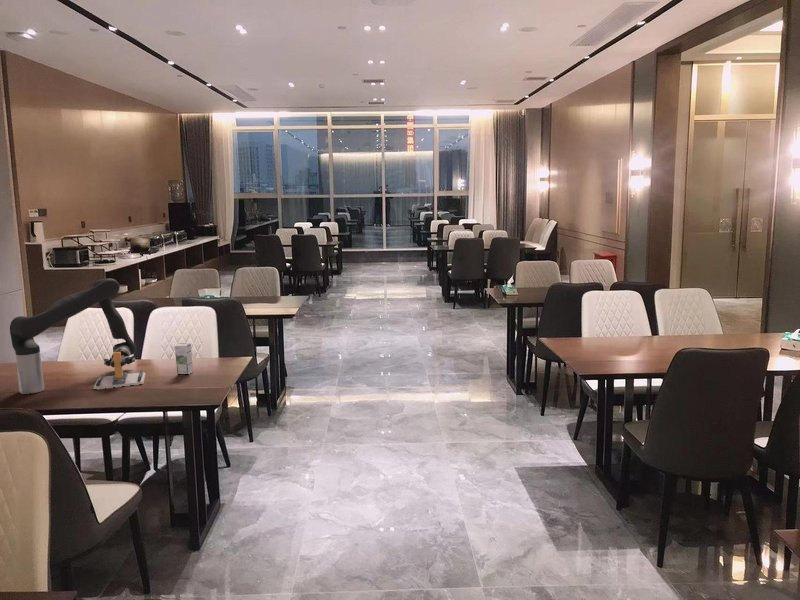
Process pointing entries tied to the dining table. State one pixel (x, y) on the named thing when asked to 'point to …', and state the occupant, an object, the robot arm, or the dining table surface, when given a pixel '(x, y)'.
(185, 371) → the syrup box
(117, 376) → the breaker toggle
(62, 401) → the dining table surface
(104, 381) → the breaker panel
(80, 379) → the dining table surface
